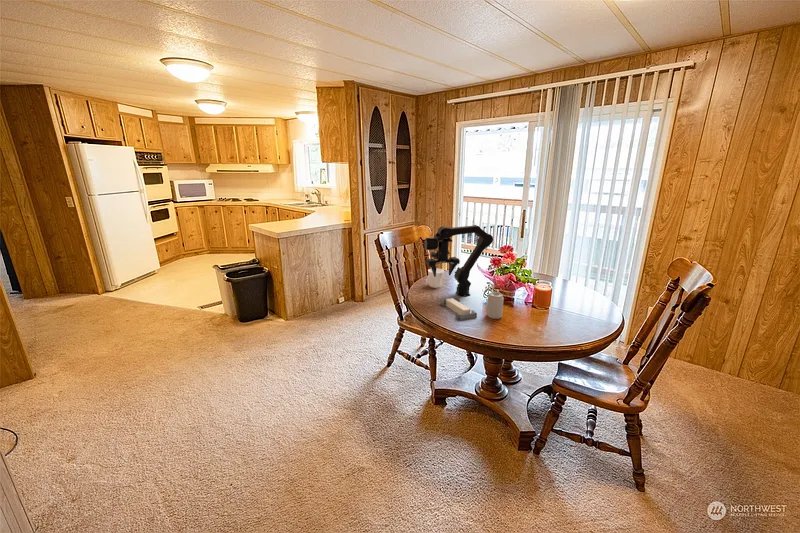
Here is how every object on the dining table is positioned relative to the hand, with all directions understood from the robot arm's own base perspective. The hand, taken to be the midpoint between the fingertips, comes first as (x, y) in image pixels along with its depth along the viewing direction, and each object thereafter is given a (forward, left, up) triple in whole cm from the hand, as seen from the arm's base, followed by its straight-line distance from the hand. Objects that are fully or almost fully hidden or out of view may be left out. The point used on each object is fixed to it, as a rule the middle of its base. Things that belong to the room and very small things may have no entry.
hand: (442, 276), depth 189 cm
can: (-13, +34, -12) cm, 38 cm away
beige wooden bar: (+1, +22, -12) cm, 25 cm away
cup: (-4, -17, -12) cm, 21 cm away
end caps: (+1, +22, -12) cm, 25 cm away
